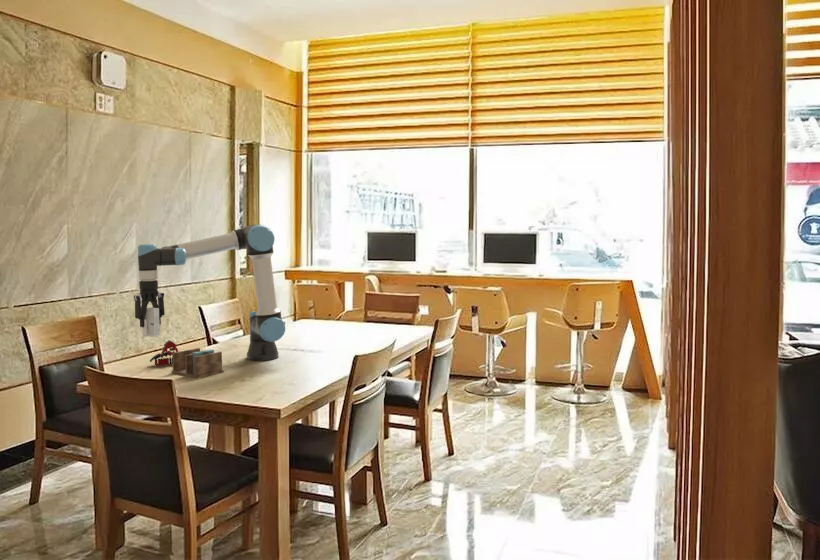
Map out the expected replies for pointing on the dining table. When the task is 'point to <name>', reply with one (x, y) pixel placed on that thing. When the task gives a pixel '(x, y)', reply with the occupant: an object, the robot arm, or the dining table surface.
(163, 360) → the logo sign
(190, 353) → the rack
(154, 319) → the skincare box
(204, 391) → the dining table surface
